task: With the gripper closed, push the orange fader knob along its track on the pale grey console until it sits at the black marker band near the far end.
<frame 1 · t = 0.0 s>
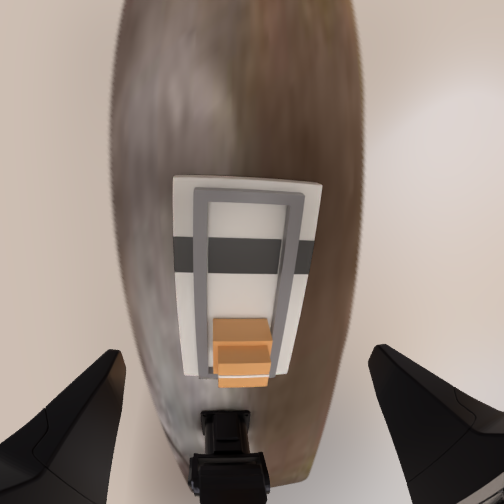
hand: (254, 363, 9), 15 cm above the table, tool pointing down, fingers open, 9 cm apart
fader knob: (241, 354, 23), point 4 cm above the table, slide at 0.0 cm
console: (240, 291, 25), on the table
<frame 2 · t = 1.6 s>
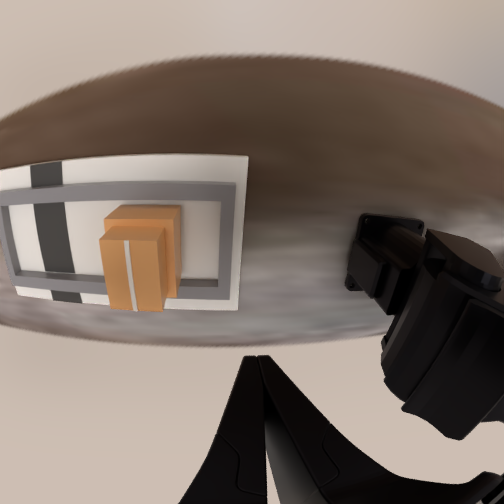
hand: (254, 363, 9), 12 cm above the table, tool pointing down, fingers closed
fader knob: (142, 256, 15), point 4 cm above the table, slide at 0.0 cm
console: (104, 232, 18), on the table
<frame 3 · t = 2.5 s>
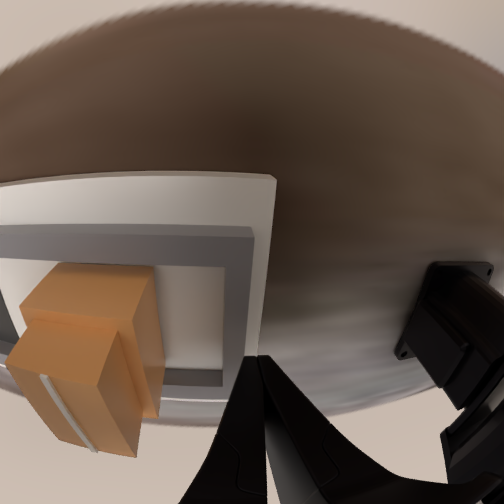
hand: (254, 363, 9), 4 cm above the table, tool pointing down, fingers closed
fader knob: (93, 362, 8), point 4 cm above the table, slide at 0.0 cm
console: (49, 293, 11), on the table
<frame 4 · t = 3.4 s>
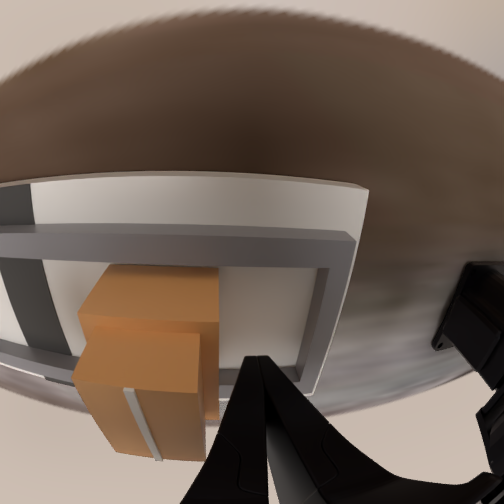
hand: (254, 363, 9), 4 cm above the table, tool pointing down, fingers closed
fader knob: (156, 368, 8), point 4 cm above the table, slide at 1.2 cm, touching gripper
console: (110, 298, 11), on the table
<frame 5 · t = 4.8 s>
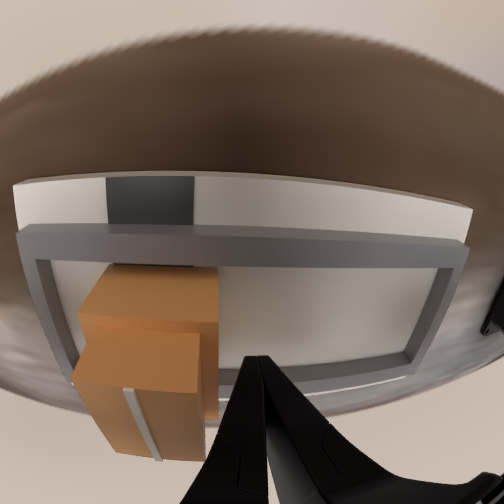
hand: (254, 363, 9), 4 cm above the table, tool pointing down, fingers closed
fader knob: (156, 368, 8), point 4 cm above the table, slide at 7.6 cm, touching gripper
console: (254, 303, 12), on the table
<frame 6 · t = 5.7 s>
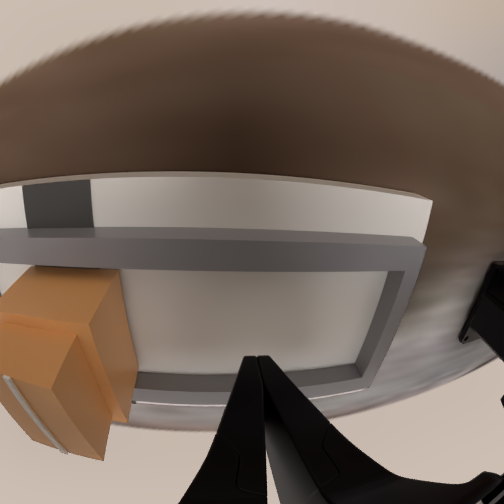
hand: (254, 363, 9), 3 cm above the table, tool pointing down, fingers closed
fader knob: (61, 365, 7), point 4 cm above the table, slide at 7.7 cm
console: (174, 307, 11), on the table
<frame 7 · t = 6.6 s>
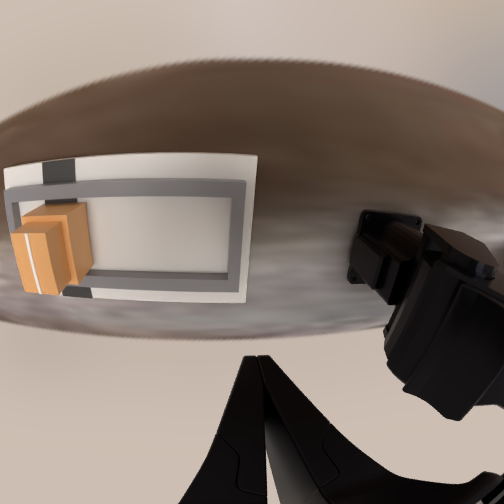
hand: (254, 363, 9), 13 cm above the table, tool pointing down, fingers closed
fader knob: (51, 248, 15), point 4 cm above the table, slide at 7.7 cm
console: (115, 228, 19), on the table
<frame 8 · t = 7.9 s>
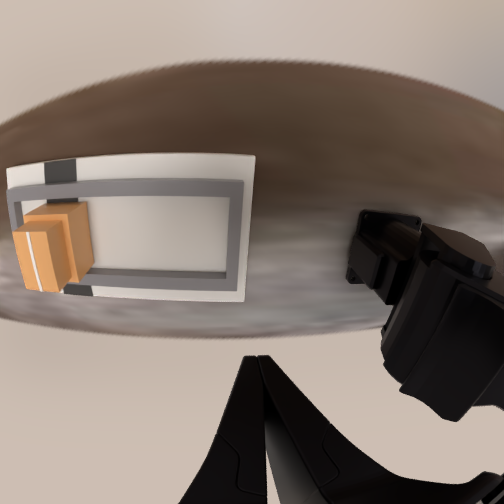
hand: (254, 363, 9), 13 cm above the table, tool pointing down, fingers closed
fader knob: (52, 246, 15), point 4 cm above the table, slide at 7.7 cm
console: (116, 227, 19), on the table
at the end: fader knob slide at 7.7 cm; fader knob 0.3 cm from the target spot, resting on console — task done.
